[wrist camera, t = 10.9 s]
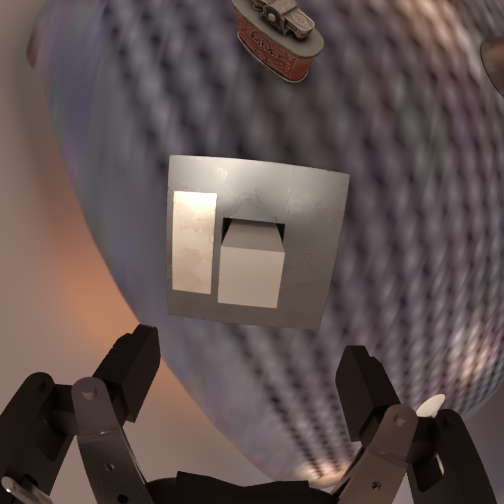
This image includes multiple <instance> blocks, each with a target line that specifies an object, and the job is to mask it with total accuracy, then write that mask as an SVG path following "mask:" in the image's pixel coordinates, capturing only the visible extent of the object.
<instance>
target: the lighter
mask: <svg viewBox="0 0 504 504" xmlns="http://www.w3.org/2000/svg"><path fill="white" fill-rule="evenodd" d="M232 6H233V8H234V9H235V10H236V15H237V21H238V28H239V31H238V40H239V42H240V43H241V45H242V46H243V47H244V48H245V50H246V51H247V52H248V53H249V54H250V55H251V56H252V57H253V58H254V59H255V60H256V61H257V62H258V63H259V64H260V65H261V66H262V67H264V68H265V69H266V70H267V71H269V72H270V73H271V74H273V75H274V76H276V77H277V78H279V79H280V80H282V81H283V82H285V83H287V84H290V85H295V84H299V83H301V82H302V81H303V80H304V79H305V77H306V75H307V73H308V68H309V66H310V64H311V63H312V61H313V59H314V57H316V56H317V55H318V54H319V53H320V52H321V50H322V48H323V46H324V40H323V38H322V36H321V35H320V34H319V32H318V31H317V30H316V29H315V27H314V25H315V24H314V22H313V21H312V20H311V19H310V18H309V17H308V16H306V15H305V14H304V13H303V12H301V9H300V8H299V5H298V3H297V2H296V1H295V0H232Z"/></svg>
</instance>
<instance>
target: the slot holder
mask: <svg viewBox="0 0 504 504" xmlns="http://www.w3.org/2000/svg"><path fill="white" fill-rule="evenodd" d="M349 178H350V174H345V173H339V172H334V171H328V170H322V169H316V168H309V167H302V166H295V165H288V164H280V163H272V162H263V161H254V160H243V159H232V158H218V157H202V156H178V155H170V163H169V177H168V195H167V224H166V277H167V306H168V315H175V316H182V317H189V318H196V319H203V320H211V321H220V322H228V323H238V324H247V325H258V326H270V327H283V328H298V329H316V330H319V327H320V323H321V320H322V316H323V312H324V308H325V304H326V300H327V295H328V291H329V287H330V283H331V278H332V274H333V269H334V264H335V260H336V255H337V250H338V245H339V239H340V234H341V229H342V223H343V217H344V211H345V205H346V199H347V192H348V185H349ZM226 218H236V219H246V220H255V221H265V222H274V223H282V224H281V231H280V238H281V241H282V244H283V248H284V251H285V256H284V263H283V269H282V276H281V282H280V289H279V295H278V301H277V307H276V308H268V307H257V306H247V305H237V304H227V303H218V286H219V269H220V254H221V245H222V243H223V240H224V238H225V229H226Z"/></svg>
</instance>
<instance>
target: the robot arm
mask: <svg viewBox="0 0 504 504" xmlns="http://www.w3.org/2000/svg"><path fill="white" fill-rule="evenodd" d="M481 56H482V60H483V63H484V66H485V69H486V71H487V73H488V75H489V77H490V79H491V81H492V82H493V84H494V85H495V87H496V88H497V89H498V91H499V92H500V93H501V94H502V95H503V96H504V35H501V36H498V37H495V38H492V39H489V40H486V41H484V42H483V43H482V45H481ZM160 357H161V355H160V347H159V338H158V330H157V328H156V327H153V326H148V325H143V324H139V325H138V326H137V328H136V329H135V330H134V332H133V334H130V333H126V334H125V335H123V336H122V337H120V338H119V339H118V340H117V341H116V343H115V344H114V345H113V348H111V350H110V351H109V352H108V354H107V355H106V357H105V358H104V359H103V361H102V363H101V364H100V365H99V367H98V368H97V370H96V371H95V373H94V374H93V376H92V377H85V378H82V379H80V380H78V381H77V382H75V384H74V385H73V386H72V385H60V384H55V383H54V381H53V379H52V377H51V376H50V375H49V374H47V373H44V372H37V373H33V374H31V375H30V376H29V377H27V379H26V380H25V381H24V382H23V384H22V385H21V386H20V388H19V389H18V391H17V392H16V393H15V395H14V396H13V398H12V399H11V401H10V402H9V404H8V405H7V406H6V408H5V410H4V411H3V412H2V414H1V415H0V504H53V502H52V500H51V499H50V498H49V496H50V493H51V490H52V488H53V485H54V482H55V480H56V477H57V475H58V472H59V470H60V467H61V465H62V463H63V460H64V458H65V456H66V453H67V451H68V449H69V446H70V444H71V442H72V440H73V438H74V436H75V435H77V442H78V447H79V450H80V454H81V457H82V461H83V464H84V468H85V471H86V474H87V477H88V480H89V483H90V486H91V488H92V491H93V494H94V496H95V499H96V501H97V504H392V502H393V500H394V498H395V496H396V494H397V492H398V489H399V487H400V485H401V483H402V480H403V478H404V476H405V473H406V472H407V476H408V480H409V484H410V488H411V492H412V497H413V501H414V504H497V502H496V499H495V496H494V493H493V490H492V487H491V485H490V482H489V479H488V477H487V474H486V472H485V469H484V466H483V464H482V462H481V459H480V457H479V455H478V452H477V450H476V448H475V446H474V444H473V441H472V439H471V437H470V435H469V433H468V431H467V429H466V427H465V424H464V422H463V420H462V419H461V417H460V415H459V414H458V413H457V412H455V411H453V410H451V409H443V410H440V411H439V412H438V413H437V414H436V416H435V417H434V418H432V417H420V416H417V414H416V412H415V411H414V410H413V409H412V408H410V407H409V406H406V405H403V404H401V403H400V401H399V399H398V396H397V394H396V392H395V390H394V388H393V386H392V384H391V382H390V381H389V378H388V376H387V374H386V372H385V370H384V368H383V366H382V364H381V363H380V362H379V361H378V360H377V359H376V358H375V357H370V356H369V354H368V352H367V350H366V348H365V346H363V345H361V346H351V345H348V346H346V348H345V350H344V353H343V355H342V358H341V361H340V364H339V366H338V369H337V372H336V378H335V381H336V387H337V390H338V394H339V397H340V401H341V405H342V408H343V412H344V416H345V420H346V423H347V427H348V431H349V435H350V439H351V442H356V441H361V443H362V446H361V448H360V449H359V451H358V453H357V454H356V456H355V458H354V459H353V461H352V463H351V464H350V466H349V467H348V469H347V471H346V472H345V474H344V475H343V477H342V478H341V480H340V481H339V482H338V484H337V485H336V486H335V487H334V489H333V490H332V491H331V492H330V494H329V493H327V492H324V491H322V490H319V489H315V488H310V487H309V483H308V480H307V481H276V482H271V483H265V484H260V485H254V486H247V487H242V486H238V485H234V484H231V483H228V482H225V481H221V480H219V479H216V478H213V477H210V476H203V475H197V474H192V473H186V472H181V471H178V472H177V477H176V478H163V479H158V480H154V481H150V482H148V481H147V479H146V478H145V475H144V474H143V472H142V470H141V468H140V466H139V464H138V462H137V460H136V458H135V455H134V453H133V451H132V449H131V447H130V444H129V442H128V440H127V437H126V434H125V432H124V429H123V425H124V423H125V421H126V420H127V421H130V422H133V423H135V421H136V418H137V416H138V414H139V411H140V409H141V407H142V404H143V402H144V399H145V397H146V395H147V393H148V390H149V388H150V386H151V384H152V381H153V379H154V377H155V375H156V372H157V370H158V368H159V364H160ZM437 455H439V457H440V460H441V463H442V466H443V469H444V474H443V475H442V472H441V469H440V466H439V463H438V461H437V458H436V456H437Z"/></svg>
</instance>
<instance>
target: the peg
mask: <svg viewBox="0 0 504 504" xmlns="http://www.w3.org/2000/svg"><path fill="white" fill-rule="evenodd" d="M284 256H285V251H284V248H283V244H282V241H281V238H280V234H279V231H278V228H277V225H276V223H274V222H265V221H255V220H246V219H236V218H233V219H232V222H231V224H230V226H229V229H228V231H227V233H226V236H225V238H224V240H223V243H222V245H221V254H220V269H219V286H218V303H227V304H237V305H247V306H257V307H268V308H276V307H277V301H278V295H279V289H280V282H281V276H282V269H283V263H284Z"/></svg>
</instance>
